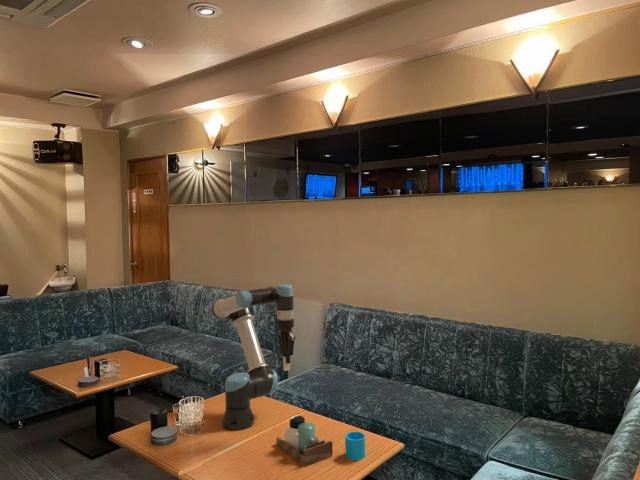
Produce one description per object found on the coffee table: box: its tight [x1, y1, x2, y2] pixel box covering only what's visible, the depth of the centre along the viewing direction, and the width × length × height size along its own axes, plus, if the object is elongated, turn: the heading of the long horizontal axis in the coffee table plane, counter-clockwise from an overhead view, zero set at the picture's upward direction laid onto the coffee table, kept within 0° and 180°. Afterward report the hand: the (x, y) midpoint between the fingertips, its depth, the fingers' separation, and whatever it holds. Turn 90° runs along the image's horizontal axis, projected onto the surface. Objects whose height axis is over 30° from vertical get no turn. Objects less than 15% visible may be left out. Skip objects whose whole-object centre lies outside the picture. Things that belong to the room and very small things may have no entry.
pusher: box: [304, 436, 326, 450], centre depth 187 cm, size 1×9×8 cm, turn 125°
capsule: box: [298, 422, 316, 454], centre depth 190 cm, size 7×7×12 cm
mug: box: [344, 431, 366, 461], centre depth 191 cm, size 12×8×8 cm
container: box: [284, 415, 306, 451], centre depth 197 cm, size 8×8×13 cm
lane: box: [275, 436, 334, 467], centre depth 194 cm, size 23×13×6 cm, turn 35°
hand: (286, 369), depth 210 cm, fingers closed
